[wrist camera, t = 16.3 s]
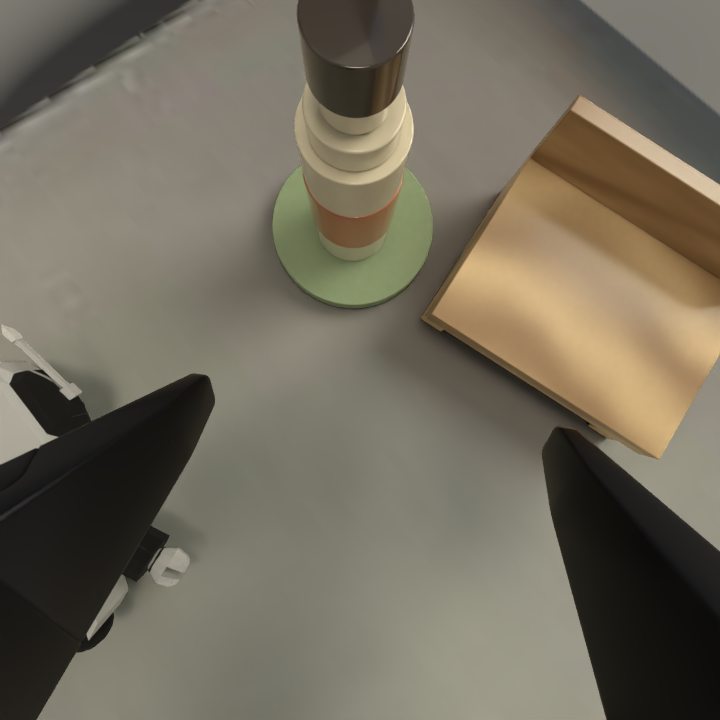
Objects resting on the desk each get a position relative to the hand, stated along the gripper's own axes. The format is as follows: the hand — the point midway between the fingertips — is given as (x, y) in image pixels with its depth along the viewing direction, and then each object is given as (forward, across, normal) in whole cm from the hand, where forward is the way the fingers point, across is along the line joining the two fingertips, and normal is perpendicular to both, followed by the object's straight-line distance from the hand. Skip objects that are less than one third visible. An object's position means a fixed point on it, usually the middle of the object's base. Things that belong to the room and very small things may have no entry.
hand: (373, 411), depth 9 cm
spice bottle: (+13, +3, -1) cm, 13 cm away
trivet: (+14, +3, -1) cm, 14 cm away
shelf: (+13, -10, +2) cm, 16 cm away
